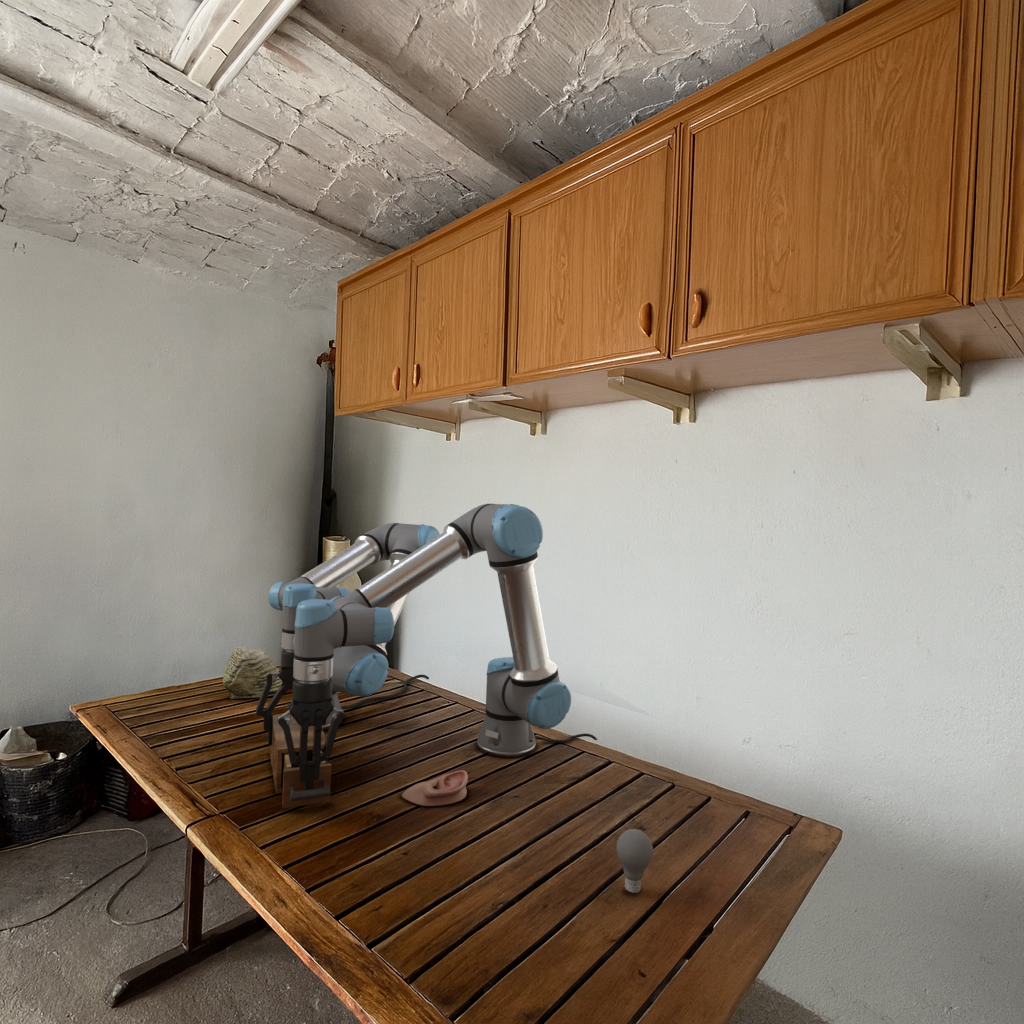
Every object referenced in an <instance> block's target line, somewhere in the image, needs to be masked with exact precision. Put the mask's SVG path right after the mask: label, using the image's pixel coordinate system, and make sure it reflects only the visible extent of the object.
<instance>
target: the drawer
mask: <svg viewBox="0 0 1024 1024" xmlns="http://www.w3.org/2000/svg"><path fill="white" fill-rule="evenodd" d="M321 753H322V752H321ZM295 754H296V756H299V751H298V752H295ZM307 761H313V750H307ZM281 776H282V781H283V793H282V801H281V806H282V807H281V808H282V809H290V808H296V807H302V806H309V805H315V804H323V803H328V802H329V803H330V802H331V788H332V787H331V786H332V785H331V783H332V764H331V762H327V764H325V761H323V762H321V765H320V773H319V779H318V780H314V784H313V789H310V790H304V782H300V781H299V766H298V765H292V764H291V762H290V758H289V753H282V772H281ZM311 798H313V799H311ZM305 799H309V800H305Z"/></svg>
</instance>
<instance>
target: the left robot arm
mask: <svg viewBox="0 0 1024 1024" xmlns="http://www.w3.org/2000/svg"><path fill="white" fill-rule="evenodd" d="M440 534H441V533H440V531H439V530H438V529H437V528H436V527H435V526H433V525H428V524H424V523H422V524H413V523H412V524H411V523H399V522H390V523H385V524H383V525H380V526H377V527H375V528H373V529H370V530H369V531H366V532H365V533H362V534H361V535H360V536H358V537H357V538H356V539H355V540H354V543H353V544H352V545H349V546H348V547H347V548H345V549H343V550H341V551H340V552H338V553H337V554H334V555H333V556H332V557H329V558H328V559H327V560H324V561H323V562H322V563H320V564H318V565H317V566H315V567H314V568H312V569H310V570H309V571H306V572H305V573H303V574H302V575H300V576H299V577H297V578H295V579H293V580H291V581H290V582H288V581H280V582H278V581H277V582H276V583H274V584H273V585H272V586H271V588H270V589H269V591H268V596H267V599H268V603H269V606H270V607H271V608H272V609H274V610H276V611H281V612H282V619H281V620H282V623H281V626H282V627H281V645H280V647H281V649H282V650H281V652H280V653H281V654H280V668H279V672H273V673H271V672H270V671H269V672H267V673H266V683H265V686H264V689H263V692H262V694H261V697H259V700H258V702H257V705H256V708H255V714H256V716H258V717H263V731H264V732H267V744H268V745H267V746H270V745H272V729H273V716H274V715H273V714H272V713H273V712H274V710H275V708H276V707H277V705H278V704H279V703H280V701H281V699H282V698H283V696H284V694H286V693H287V691H288V689H289V690H293V681H294V680H295V678H294V677H293V666H294V650H295V626H294V624H295V619H296V610H297V606H298V604H299V603H300V602H302V601H305V600H311V599H325V600H331V599H332V598H334V597H337V596H346V595H347V594H349V593H350V592H351V591H349V590H348V589H347V588H346V587H344V586H338V585H340V584H341V583H343V582H344V581H346V580H347V579H349V578H351V577H352V576H353V575H355V574H356V573H358V572H359V571H361V570H362V569H364V568H366V567H367V566H374V565H376V564H378V563H379V562H382V561H389V562H390V565H389V567H388V568H390V567H391V566H393V565H394V564H396V563H397V562H399V561H400V560H402V559H403V558H405V557H406V556H408V555H410V554H411V553H413V552H414V551H416V550H417V549H419V548H420V547H422V546H423V545H425V544H426V543H428V542H430V541H431V540H433V539H434V538H436V537H437V536H439V535H440ZM410 593H411V592H410ZM410 593H408V594H407V595H405V596H404V597H402V598H401V599H399V600H398V601H396V602H395V603H393V604H392V605H390V606H389V607H387V608H388V609H390V611H391V612H392V614H393V618H394V627H395V626H396V625H397V624H396V623H397V621H398V619H399V617H400V615H401V613H402V610H403V608H404V606H405V604H406V602H407V600H408V599H409V596H410ZM386 645H387V643H382V644H376V645H361V646H347V647H335V648H334V657H333V676H332V677H331V679H332V702H333V704H334V707H336V708H338V709H342V710H349V709H353V708H356V707H358V706H360V705H362V704H364V703H368V702H371V701H372V702H373V701H380V700H388V699H392V698H395V697H398V696H400V695H402V694H403V693H404V692H405V691H406V690H407V688H408V685H407V684H408V683H411V682H412V681H414V680H417V679H420V678H424V679H425V680H430V677H429V676H428V675H426V674H417V675H414V676H412V677H410V678H408V679H406V680H405V681H404V682H403V688H402V689H401V690H399V691H397V692H396V693H393V694H389V695H380V696H372V695H375V694H376V693H377V692H378V691H380V690H381V688H382V687H383V685H384V684H385V682H386V680H387V678H388V674H389V670H388V669H389V662H388V659H387V656H388V652H387V650H386ZM277 677H279V678H280V679H281V680H282V684H281V685H280V687H279V689H278V691H277V692H276V694H275V695H273V697H272V698H271V700H270V701H269V703H268V704H267V706H266V703H267V700H268V697H269V696H268V695H269V692H270V689H271V687H272V682H275V680H276V678H277ZM338 693H342V694H346V695H349V696H352V697H361V698H362V697H363V698H364V699H361V700H359V701H356V702H354V703H352V704H347V705H341V702H340V699H339V695H338ZM370 696H372V697H370ZM291 703H292V701H291V702H289V703H286V709H289V706H290V705H291ZM265 706H266V707H265ZM264 708H265V709H264ZM331 714H332V712H331V713H330V715H329V716H328V717H327V719H326V720H325V721H324V723H323V724H322V730H323V732H325V731H328V730H329V727H330V723H331V720H332V717H331ZM343 722H344V719H343V720H342V721H341V722H340V724H339V726H340V725H342V723H343Z"/></svg>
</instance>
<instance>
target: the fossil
mask: <svg viewBox="0 0 1024 1024" xmlns="http://www.w3.org/2000/svg"><path fill="white" fill-rule="evenodd" d="M279 670H280V668H278V667H277V665H276V663H275V662H274V660H273V659H272V658H271V657H270V656H269V655H268V654H267V653H266V652H265V650H264V649H263V648H260V647H258V648H251V647H247V646H246V647H245V646H238V647H237V648H236V649H235V650H233V651H232V653H231V656H230V657H229V659H228V660H227V663H226V666H225V668H224V671H223V675H222V676H223V677H222V685H223V687H224V688H225V690H226V691H228V693H229V698H230V699H250V698H260V697H261V694H262V692H263V689H264V686H265V683H266V673H267V672H269V671H270V672H271V673H273V672H279ZM281 684H282V680H281V679H280V678H279V677H277V678H276V680H275V682H272V687H271V689H270V692H269V695H268V697H271V696H274V695H275V694H276V692H277V691H278V689H279V687H280V685H281Z"/></svg>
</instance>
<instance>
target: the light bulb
mask: <svg viewBox="0 0 1024 1024" xmlns="http://www.w3.org/2000/svg"><path fill="white" fill-rule="evenodd" d="M615 849H616V854H617V857H618V859H619V861H620V863H621V865H622V867H623V873H624V874H623V875H624V876H625V878H624V888H625V890H627V891H628V892H630V893H634V894H635V893H639V892H640V891H641V889H642V887H641V886H642V879H643V877H644V875H645V871H646V868H647V867H648V866H649V864H650V863H651V861H652V859H653V855H654V847H653V843H652V841H651V838H649V836H648V835H647V834H646V833H645V832H643V831H642V830H641V829H636V828H629V829H627V830H625V831H623V832H622V833H621V834H620V835H619V837H618V839H617V841H616V847H615Z"/></svg>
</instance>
